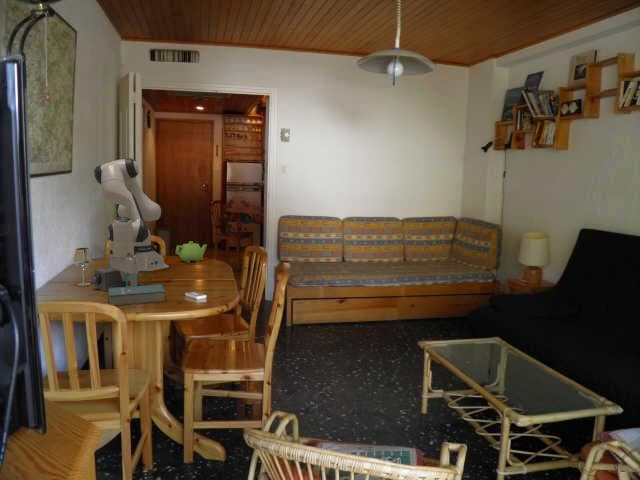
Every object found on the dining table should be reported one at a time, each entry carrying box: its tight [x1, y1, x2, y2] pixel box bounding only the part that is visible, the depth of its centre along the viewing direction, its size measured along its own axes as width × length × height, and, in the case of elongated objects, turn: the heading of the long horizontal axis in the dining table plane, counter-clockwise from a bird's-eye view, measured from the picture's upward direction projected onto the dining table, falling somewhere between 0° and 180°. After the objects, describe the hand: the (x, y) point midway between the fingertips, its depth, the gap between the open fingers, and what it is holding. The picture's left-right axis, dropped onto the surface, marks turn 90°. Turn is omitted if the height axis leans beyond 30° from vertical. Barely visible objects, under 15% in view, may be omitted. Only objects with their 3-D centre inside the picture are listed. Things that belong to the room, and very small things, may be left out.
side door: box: [126, 274, 139, 287], centre depth 252 cm, size 15×2×8 cm, turn 3°
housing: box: [92, 267, 129, 292], centre depth 256 cm, size 18×10×10 cm, turn 139°
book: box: [107, 283, 166, 306], centre depth 233 cm, size 23×16×5 cm
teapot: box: [174, 241, 208, 264], centre depth 331 cm, size 20×13×13 cm
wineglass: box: [73, 247, 93, 287], centre depth 261 cm, size 8×8×18 cm
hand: (124, 281), depth 247 cm, fingers closed
